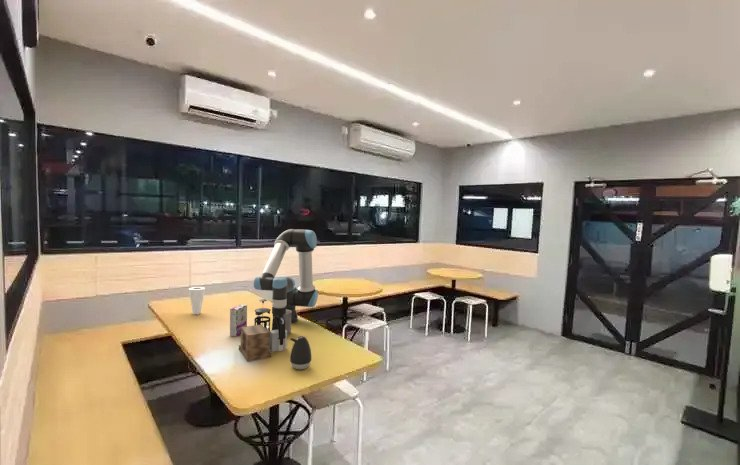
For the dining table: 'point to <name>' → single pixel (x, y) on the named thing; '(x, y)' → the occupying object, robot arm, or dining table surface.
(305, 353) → the pump dispenser
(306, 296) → the robot arm
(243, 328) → the wooden slotted holder
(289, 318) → the pillar candle
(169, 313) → the dining table surface
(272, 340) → the white carton
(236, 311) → the candy bar box
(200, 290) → the cup
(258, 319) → the french press
